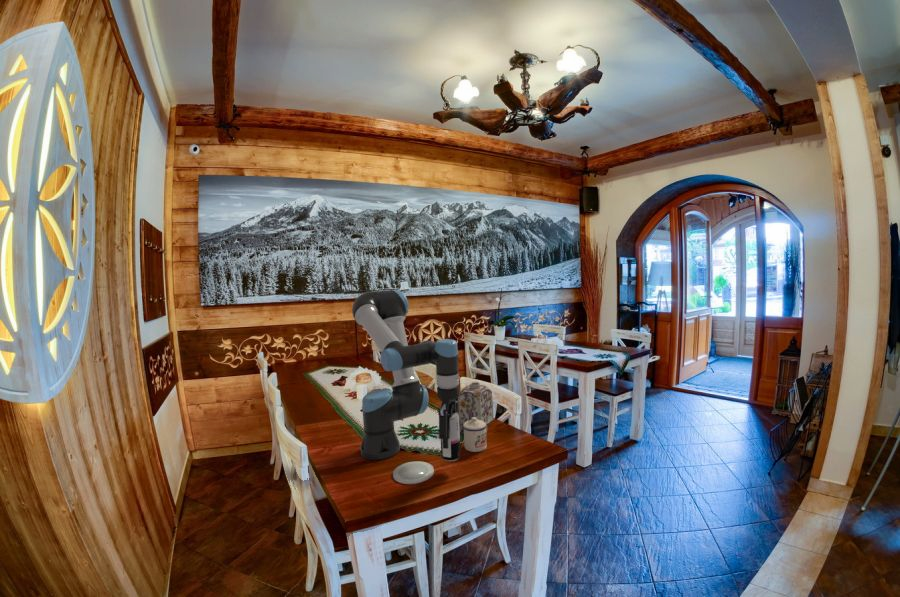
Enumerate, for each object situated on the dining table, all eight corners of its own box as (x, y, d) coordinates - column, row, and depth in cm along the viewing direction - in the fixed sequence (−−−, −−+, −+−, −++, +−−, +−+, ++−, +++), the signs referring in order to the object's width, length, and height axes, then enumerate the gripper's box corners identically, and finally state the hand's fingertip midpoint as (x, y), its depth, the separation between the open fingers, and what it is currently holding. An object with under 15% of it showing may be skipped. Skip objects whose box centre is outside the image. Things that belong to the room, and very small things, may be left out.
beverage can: (445, 463, 124) (444, 419, 123) (438, 454, 130) (436, 413, 129) (463, 458, 126) (462, 415, 125) (455, 450, 132) (454, 409, 131)
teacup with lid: (477, 454, 139) (476, 424, 138) (459, 448, 145) (457, 419, 144) (496, 443, 148) (494, 414, 147) (478, 437, 154) (476, 409, 153)
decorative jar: (473, 415, 179) (471, 378, 178) (494, 420, 172) (492, 381, 171) (458, 424, 169) (456, 385, 168) (481, 429, 162) (478, 388, 161)
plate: (385, 480, 124) (385, 478, 124) (404, 460, 137) (404, 459, 137) (423, 486, 119) (423, 484, 119) (439, 465, 133) (439, 463, 133)
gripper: (448, 396, 116) (451, 467, 118) (467, 378, 134) (469, 440, 136) (426, 394, 118) (429, 464, 120) (447, 376, 137) (450, 437, 138)
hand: (450, 451), depth 128 cm, fingers closed on beverage can, 6 cm apart
